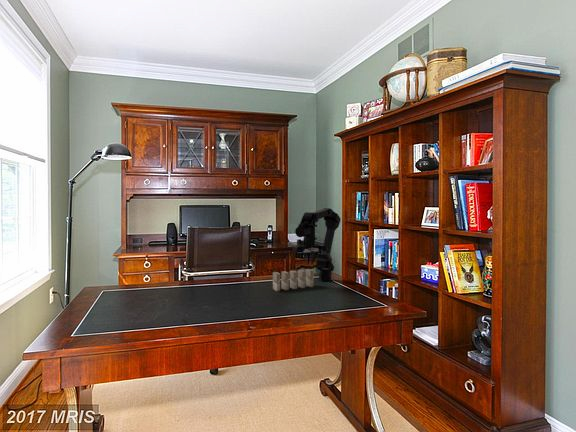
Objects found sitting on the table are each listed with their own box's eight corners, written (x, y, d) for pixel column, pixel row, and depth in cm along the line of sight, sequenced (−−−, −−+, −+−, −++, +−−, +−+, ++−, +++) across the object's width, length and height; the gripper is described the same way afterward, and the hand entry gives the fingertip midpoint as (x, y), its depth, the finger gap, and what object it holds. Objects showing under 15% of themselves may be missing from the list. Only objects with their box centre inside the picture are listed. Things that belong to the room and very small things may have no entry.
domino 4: (301, 285, 211) (301, 269, 210) (305, 287, 207) (305, 271, 206) (297, 286, 210) (297, 269, 209) (302, 288, 206) (302, 271, 205)
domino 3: (293, 286, 209) (293, 270, 208) (297, 288, 204) (297, 272, 204) (289, 287, 208) (289, 270, 207) (293, 289, 203) (293, 272, 203)
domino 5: (309, 284, 213) (309, 268, 213) (313, 286, 209) (313, 270, 208) (305, 285, 212) (306, 269, 212) (310, 287, 208) (310, 270, 207)
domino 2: (284, 287, 206) (284, 271, 206) (288, 289, 202) (288, 272, 202) (281, 288, 205) (281, 271, 205) (285, 290, 201) (285, 273, 201)
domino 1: (276, 288, 204) (276, 271, 204) (280, 290, 200) (280, 273, 199) (272, 289, 203) (272, 272, 203) (276, 291, 199) (276, 274, 198)
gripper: (317, 233, 220) (317, 260, 221) (288, 234, 212) (287, 263, 213) (327, 235, 210) (327, 263, 211) (297, 237, 202) (297, 266, 203)
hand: (309, 264), depth 210 cm, fingers closed
